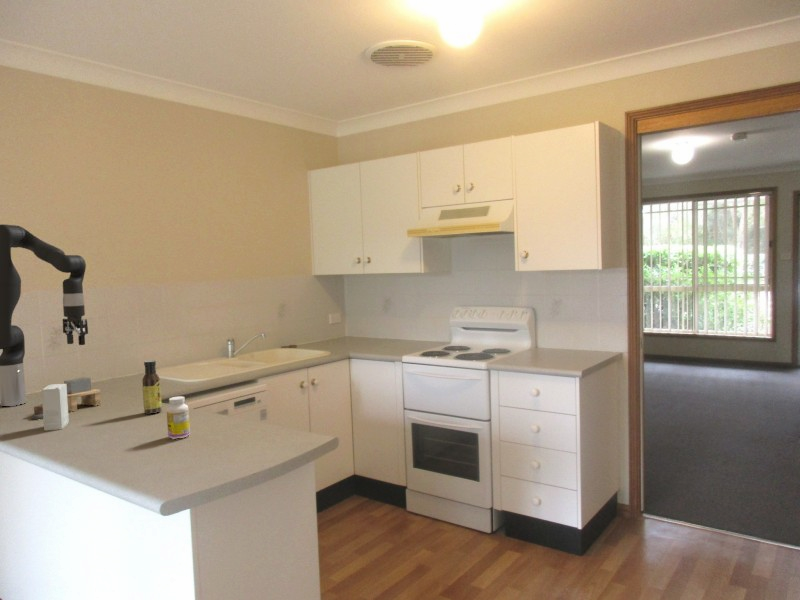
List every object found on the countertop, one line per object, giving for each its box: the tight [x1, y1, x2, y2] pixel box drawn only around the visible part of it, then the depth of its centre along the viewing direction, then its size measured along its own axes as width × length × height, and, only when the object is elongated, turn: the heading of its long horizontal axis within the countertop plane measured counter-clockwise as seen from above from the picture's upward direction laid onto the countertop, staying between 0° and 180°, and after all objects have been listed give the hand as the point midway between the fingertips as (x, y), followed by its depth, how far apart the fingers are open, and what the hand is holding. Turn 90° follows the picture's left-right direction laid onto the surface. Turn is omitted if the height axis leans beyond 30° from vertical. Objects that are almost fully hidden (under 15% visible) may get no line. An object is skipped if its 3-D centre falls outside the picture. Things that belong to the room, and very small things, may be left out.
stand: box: [67, 388, 101, 413], centre depth 238 cm, size 10×12×6 cm
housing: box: [63, 376, 92, 394], centre depth 238 cm, size 8×5×5 cm, turn 148°
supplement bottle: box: [166, 396, 191, 439], centre depth 190 cm, size 7×7×13 cm
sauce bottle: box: [141, 360, 163, 415], centre depth 224 cm, size 6×6×20 cm
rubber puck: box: [31, 414, 44, 421], centre depth 222 cm, size 4×4×2 cm
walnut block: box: [33, 403, 43, 415], centre depth 227 cm, size 4×4×4 cm
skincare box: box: [41, 383, 69, 431], centre depth 208 cm, size 8×6×15 cm
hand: (76, 344), depth 239 cm, fingers open, 8 cm apart
